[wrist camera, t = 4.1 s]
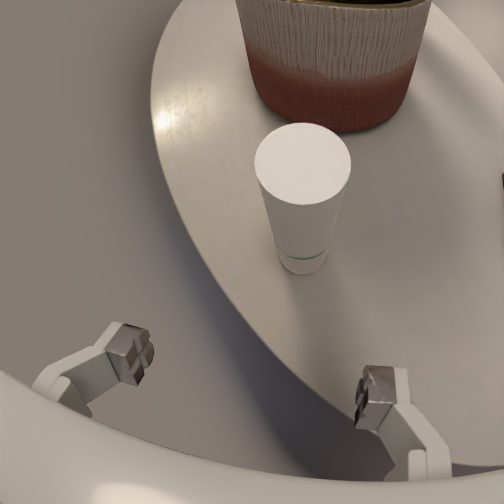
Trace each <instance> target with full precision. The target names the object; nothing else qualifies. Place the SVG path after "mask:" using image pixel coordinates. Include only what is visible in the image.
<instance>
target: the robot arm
mask: <svg viewBox="0 0 504 504" xmlns="http://www.w3.org/2000/svg"><path fill="white" fill-rule="evenodd" d="M149 337H150V334H149V331H148V330H146V329H143V328H139V327H136V326H132V325H128V324H125V323H121V322H117V321H114V322H112V323H111V324H110V325H109V327H108V328H107V329H106V330H105V332H104V333H103V334H102V336H101V337H100V338H99V339H98V341H97V342H96V343H95V345H94V346H93V347H91V346H89V347H87V348H85V349H83V350H81V351H78V352H76V353H74V354H72V355H70V356H68V357H66V358H64V359H61V360H59V361H57V362H55V363H53V364H51V365H49V366H47V367H45V369H44V370H43V371H42V373H41V374H40V375H39V376H38V378H37V379H36V380H35V381H34V383H33V384H32V385H31V387H29V386H27V385H26V384H24V383H22V382H21V381H19V380H18V379H16V378H14V377H13V376H11V375H10V374H8V373H6V372H5V371H3V370H2V369H0V504H504V469H503V470H497V471H492V472H487V473H481V474H475V475H468V476H461V477H453V478H452V467H451V456H450V447H449V446H448V444H447V443H446V442H445V441H444V439H443V438H442V437H441V436H440V434H439V433H438V432H437V431H436V430H435V428H434V427H433V426H432V425H431V423H430V422H429V421H428V420H427V418H426V417H425V416H424V415H423V414H422V412H421V411H420V410H419V409H418V407H417V406H416V405H415V404H411V395H410V387H409V379H408V372H407V369H406V368H403V367H389V366H373V365H366V366H365V368H364V370H363V378H361V379H360V380H359V383H358V387H357V391H356V405H357V406H358V408H357V410H356V413H355V429H366V430H377V431H376V432H377V433H378V435H379V437H380V438H381V440H382V442H383V444H384V445H385V447H386V449H387V451H388V452H389V454H390V456H391V458H392V460H393V461H394V463H395V465H396V466H395V468H393V469H392V470H391V471H390V473H388V474H387V476H385V477H384V482H360V481H359V482H358V481H339V480H325V479H315V478H305V477H297V476H288V475H282V474H275V473H269V472H263V471H258V470H252V469H247V468H242V467H238V466H233V465H229V464H224V463H220V462H215V461H212V460H208V459H204V458H200V457H196V456H193V455H189V454H186V453H183V452H179V451H176V450H173V449H170V448H166V447H163V446H160V445H157V444H154V443H151V442H148V441H146V440H143V439H140V438H138V437H135V436H132V435H129V434H127V433H124V432H122V431H119V430H117V429H114V428H112V427H110V426H107V425H105V424H103V423H100V422H98V421H96V420H93V419H91V417H92V412H91V411H90V410H89V408H88V407H87V405H86V404H88V403H89V402H91V401H92V400H93V399H95V398H97V397H98V396H100V395H101V394H103V393H104V392H106V391H107V390H109V389H110V388H112V387H113V386H115V385H116V384H118V383H119V381H121V382H124V383H127V384H131V385H134V386H138V385H139V383H140V381H141V379H142V378H143V376H144V370H143V369H145V368H147V367H148V366H150V364H151V362H152V360H153V356H154V348H153V344H152V343H151V342H150V341H149V340H148V339H149Z"/></svg>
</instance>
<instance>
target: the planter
mask: <svg viewBox="0 0 504 504" xmlns="http://www.w3.org/2000/svg"><path fill="white" fill-rule="evenodd" d="M431 1H432V0H236V4H237V9H238V13H239V18H240V22H241V27H242V32H243V37H244V41H245V46H246V51H247V56H248V61H249V66H250V71H251V75H252V79H253V82H254V85H255V88H256V90H257V92H258V94H259V96H260V97H261V99H262V100H263V101H264V102H265V103H266V105H267V106H269V107H270V108H271V109H272V110H273V111H275V112H276V113H277V114H279V115H281V116H282V117H284V118H286V119H288V120H290V121H292V122H294V123H311V124H316V125H319V126H322V127H324V128H326V129H329V130H330V131H338V132H344V131H356V130H361V129H366V128H370V127H373V126H375V125H378V124H380V123H382V122H384V121H385V120H387V119H388V118H390V117H391V116H392V115H393V114H394V113H395V112H396V111H397V110H398V109H399V107H400V106H401V104H402V102H403V100H404V97H405V95H406V92H407V89H408V86H409V83H410V80H411V76H412V73H413V70H414V66H415V63H416V59H417V55H418V52H419V48H420V44H421V40H422V37H423V33H424V29H425V25H426V21H427V17H428V13H429V9H430V5H431Z"/></svg>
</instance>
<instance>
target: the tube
mask: <svg viewBox="0 0 504 504" xmlns="http://www.w3.org/2000/svg"><path fill="white" fill-rule="evenodd" d="M255 170H256V174H257V178H258V181H259V185H260V188H261V192H262V196H263V199H264V203H265V207H266V210H267V214H268V218H269V221H270V225H271V228H272V232H273V236H274V239H275V243H276V247H277V251H278V254H279V258H280V261H281V263H282V264H283V265H284V267H285V268H286V269H287V270H289V271H291V272H292V273H295V274H300V275H307V274H311V273H313V272H315V271H317V270H318V269H319V268H320V267H321V266H322V265H323V264H324V262H325V260H326V257H327V254H328V250H329V247H330V244H331V240H332V237H333V234H334V230H335V227H336V223H337V220H338V216H339V213H340V209H341V205H342V202H343V198H344V194H345V191H346V187H347V183H348V179H349V175H350V171H351V160H350V154H349V152H348V150H347V147H346V146H345V144H344V143H343V141H342V140H341V139H340V138H339V137H338V136H337V135H336V134H335V133H333V132H332V131H330V130H329V129H326V128H324V127H322V126H319V125H316V124H311V123H293V124H288V125H285V126H282V127H280V128H277V129H276V130H274V131H273V132H271V133H270V134H269V135H268V136H266V137H265V138H264V140H263V141H262V142H261V144H260V145H259V147H258V149H257V152H256V156H255Z"/></svg>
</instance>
